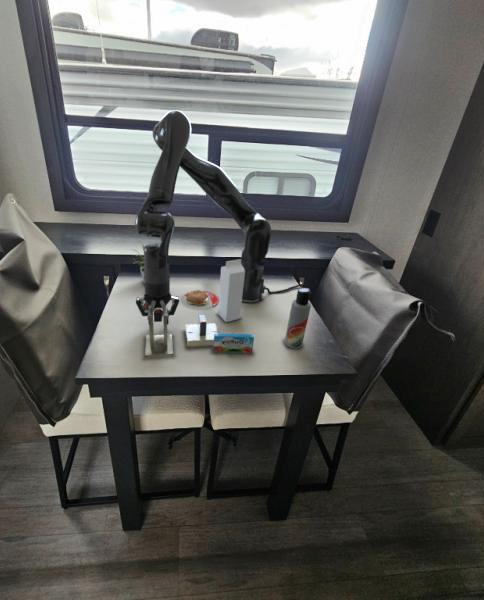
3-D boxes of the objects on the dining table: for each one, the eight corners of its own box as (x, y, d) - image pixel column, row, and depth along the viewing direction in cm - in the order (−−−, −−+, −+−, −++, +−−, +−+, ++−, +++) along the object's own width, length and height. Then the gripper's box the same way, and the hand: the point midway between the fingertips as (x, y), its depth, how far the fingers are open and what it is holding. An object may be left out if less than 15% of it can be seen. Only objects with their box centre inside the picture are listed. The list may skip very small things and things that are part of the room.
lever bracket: (146, 338, 100) (144, 303, 94) (171, 337, 102) (171, 302, 96) (145, 358, 92) (142, 321, 86) (173, 357, 93) (172, 320, 87)
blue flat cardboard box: (213, 352, 96) (214, 336, 93) (213, 349, 98) (214, 333, 95) (251, 353, 97) (254, 337, 94) (251, 350, 98) (253, 334, 96)
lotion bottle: (298, 351, 100) (311, 295, 90) (281, 344, 102) (292, 289, 93) (304, 342, 104) (316, 288, 94) (288, 336, 107) (298, 283, 97)
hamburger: (218, 309, 119) (219, 295, 116) (181, 308, 118) (181, 294, 115) (217, 292, 131) (217, 279, 129) (183, 291, 130) (183, 278, 127)
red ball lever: (153, 318, 103) (153, 308, 102) (163, 317, 103) (163, 308, 103) (152, 323, 90) (152, 312, 90) (163, 322, 91) (163, 311, 90)
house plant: (125, 278, 137) (121, 242, 129) (154, 272, 145) (153, 237, 137) (138, 291, 127) (135, 253, 120) (169, 284, 135) (168, 247, 127)
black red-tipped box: (198, 327, 102) (198, 314, 100) (204, 327, 103) (204, 314, 100) (199, 335, 98) (200, 322, 96) (206, 335, 99) (206, 322, 96)
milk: (240, 319, 114) (246, 262, 104) (225, 322, 112) (230, 265, 101) (231, 310, 119) (236, 256, 108) (217, 314, 116) (221, 258, 105)
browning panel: (214, 330, 107) (215, 322, 105) (219, 346, 99) (219, 338, 98) (185, 332, 105) (185, 324, 103) (187, 348, 97) (187, 340, 96)
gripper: (179, 272, 100) (179, 318, 108) (133, 273, 97) (137, 320, 106) (181, 283, 94) (181, 330, 102) (131, 283, 91) (135, 332, 99)
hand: (158, 325), depth 104 cm, fingers open, 3 cm apart
